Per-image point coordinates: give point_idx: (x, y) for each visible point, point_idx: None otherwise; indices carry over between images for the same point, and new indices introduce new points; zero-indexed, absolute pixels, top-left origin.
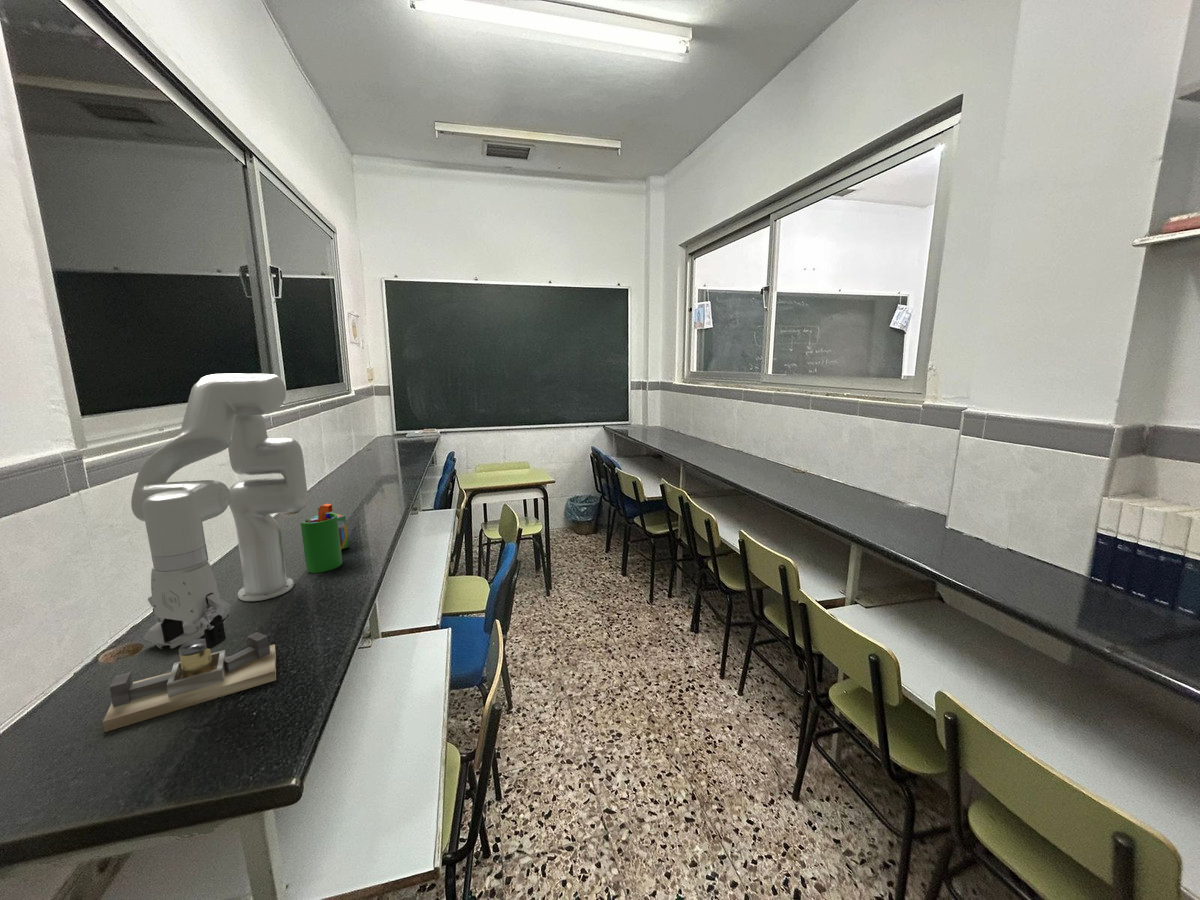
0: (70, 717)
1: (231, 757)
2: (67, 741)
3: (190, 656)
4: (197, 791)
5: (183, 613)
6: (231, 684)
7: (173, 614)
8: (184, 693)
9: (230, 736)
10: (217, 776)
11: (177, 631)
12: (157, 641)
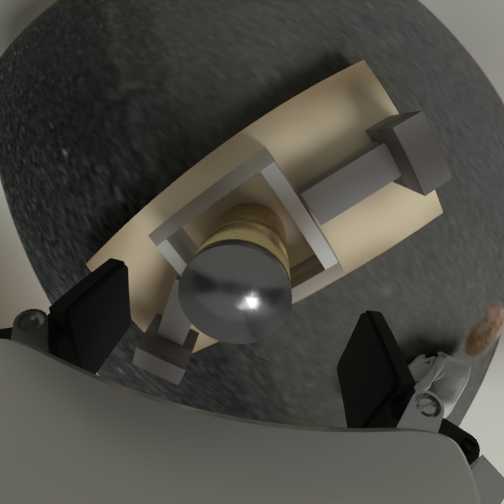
0: (466, 137)
1: (43, 62)
2: (406, 54)
3: (212, 241)
4: (55, 11)
5: (20, 431)
6: (138, 214)
7: (188, 478)
8: (232, 166)
9: (65, 91)
10: (44, 34)
11: (350, 366)
12: (448, 360)
